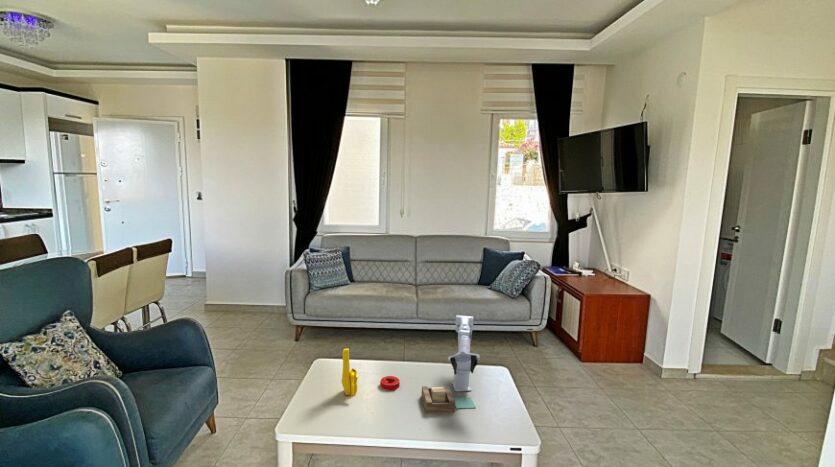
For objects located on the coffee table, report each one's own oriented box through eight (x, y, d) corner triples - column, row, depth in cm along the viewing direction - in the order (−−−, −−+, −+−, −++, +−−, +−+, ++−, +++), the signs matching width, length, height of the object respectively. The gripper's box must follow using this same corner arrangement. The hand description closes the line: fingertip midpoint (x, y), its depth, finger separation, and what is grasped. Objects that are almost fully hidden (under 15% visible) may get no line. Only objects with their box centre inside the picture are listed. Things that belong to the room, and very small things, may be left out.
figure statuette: (357, 402, 194) (358, 356, 192) (340, 402, 193) (341, 357, 190) (358, 383, 212) (359, 341, 209) (342, 383, 211) (343, 342, 208)
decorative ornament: (403, 386, 212) (403, 380, 211) (390, 392, 204) (390, 386, 204) (389, 379, 218) (389, 373, 218) (376, 386, 211) (376, 380, 210)
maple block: (430, 397, 197) (431, 387, 197) (443, 397, 198) (443, 387, 197) (432, 401, 193) (432, 391, 193) (445, 401, 194) (445, 391, 193)
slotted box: (421, 396, 202) (422, 386, 202) (447, 396, 204) (448, 385, 204) (426, 413, 188) (426, 402, 187) (454, 412, 189) (455, 401, 189)
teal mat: (452, 398, 201) (452, 397, 201) (470, 398, 202) (470, 397, 202) (456, 408, 192) (456, 408, 192) (475, 408, 193) (475, 407, 193)
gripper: (447, 345, 200) (445, 367, 189) (477, 342, 197) (477, 364, 186) (450, 355, 204) (449, 378, 192) (480, 353, 201) (480, 375, 189)
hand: (463, 372), depth 189 cm, fingers open, 7 cm apart
